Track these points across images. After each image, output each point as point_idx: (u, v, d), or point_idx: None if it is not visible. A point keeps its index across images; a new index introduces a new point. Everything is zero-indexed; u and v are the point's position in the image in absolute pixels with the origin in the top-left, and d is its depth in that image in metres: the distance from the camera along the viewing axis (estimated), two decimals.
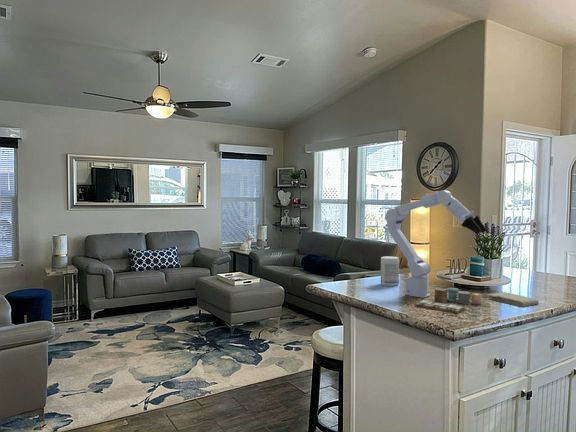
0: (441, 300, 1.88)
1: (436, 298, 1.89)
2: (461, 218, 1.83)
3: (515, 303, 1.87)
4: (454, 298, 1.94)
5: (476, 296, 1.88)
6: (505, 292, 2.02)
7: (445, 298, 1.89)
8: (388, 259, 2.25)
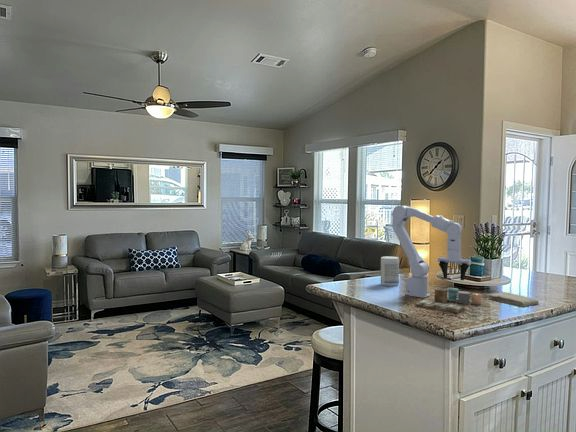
0: (441, 300, 1.88)
1: (436, 298, 1.89)
2: (470, 261, 1.90)
3: (515, 303, 1.87)
4: (454, 298, 1.94)
5: (476, 296, 1.88)
6: (505, 292, 2.02)
7: (445, 298, 1.89)
8: (388, 259, 2.25)
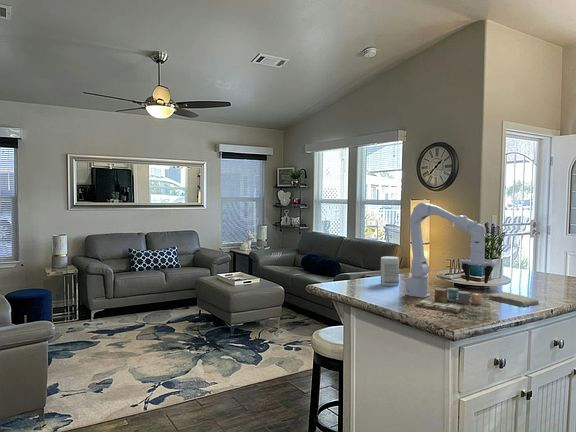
0: (441, 300, 1.88)
1: (436, 298, 1.89)
2: (494, 264, 1.84)
3: (516, 303, 1.87)
4: (454, 298, 1.94)
5: (476, 296, 1.88)
6: (505, 292, 2.02)
7: (445, 298, 1.89)
8: (388, 259, 2.25)
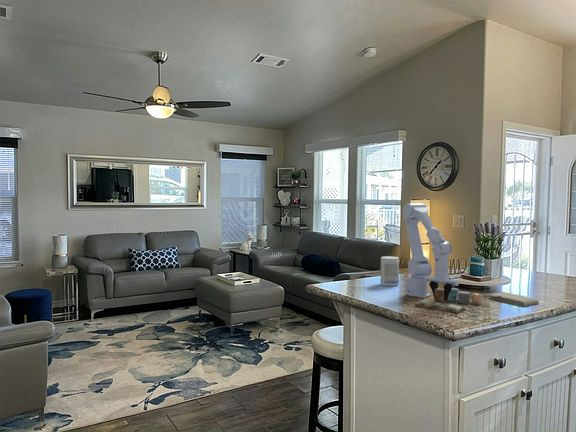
0: (441, 300, 1.88)
1: (436, 298, 1.89)
2: (457, 282, 1.85)
3: (516, 303, 1.87)
4: (454, 298, 1.94)
5: (476, 296, 1.88)
6: (504, 292, 2.02)
7: None
8: (388, 259, 2.25)
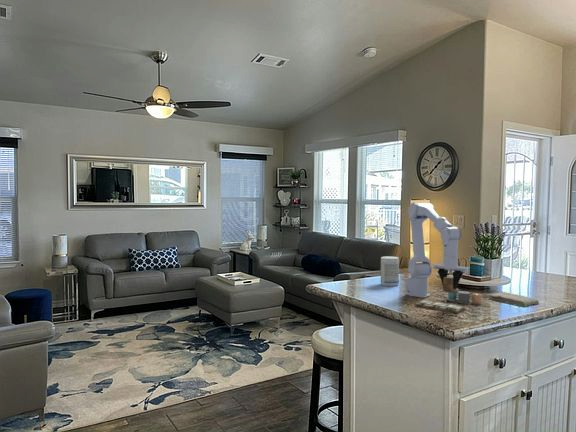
0: (450, 288, 1.79)
1: (445, 286, 1.80)
2: (467, 269, 1.75)
3: (516, 303, 1.87)
4: (454, 298, 1.94)
5: (476, 296, 1.88)
6: (504, 292, 2.02)
7: None
8: (388, 259, 2.25)
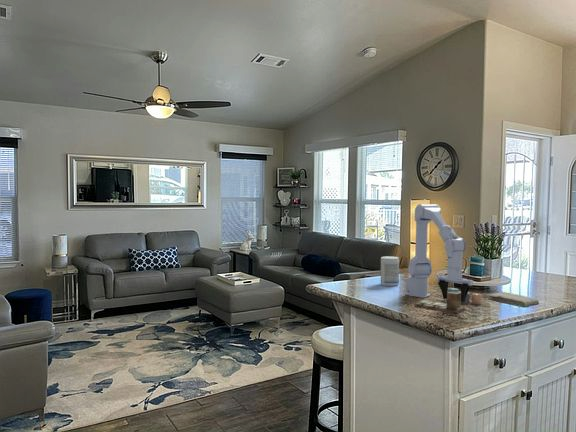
0: (454, 304, 1.75)
1: (448, 302, 1.77)
2: (471, 282, 1.71)
3: (517, 303, 1.87)
4: None
5: (476, 296, 1.88)
6: (504, 292, 2.02)
7: (458, 302, 1.76)
8: (388, 259, 2.25)
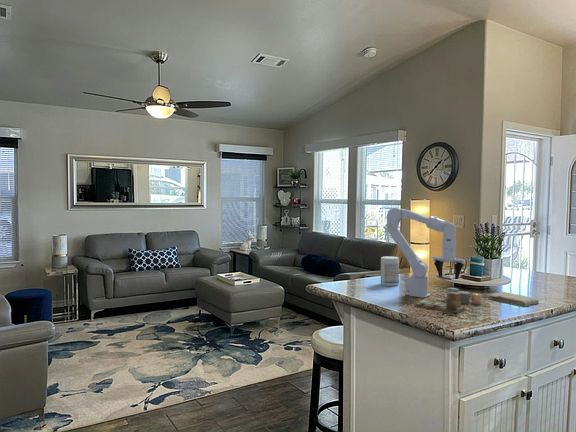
0: (454, 304, 1.75)
1: (448, 302, 1.77)
2: (464, 261, 1.93)
3: (517, 303, 1.87)
4: None
5: (476, 296, 1.88)
6: (504, 292, 2.02)
7: (458, 302, 1.76)
8: (388, 259, 2.25)
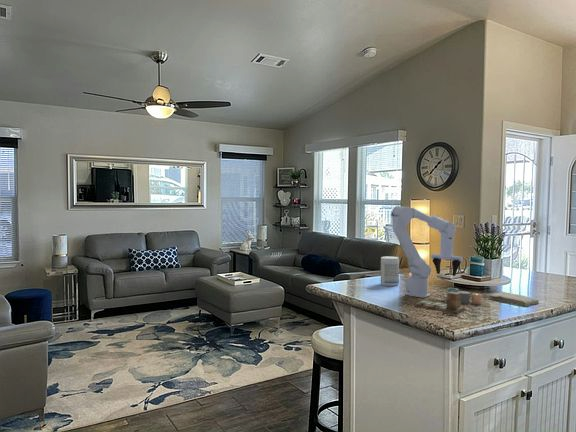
0: (454, 304, 1.75)
1: (448, 302, 1.77)
2: (461, 258, 2.02)
3: (517, 303, 1.87)
4: None
5: (476, 296, 1.88)
6: (503, 292, 2.02)
7: (458, 302, 1.76)
8: (388, 259, 2.25)
